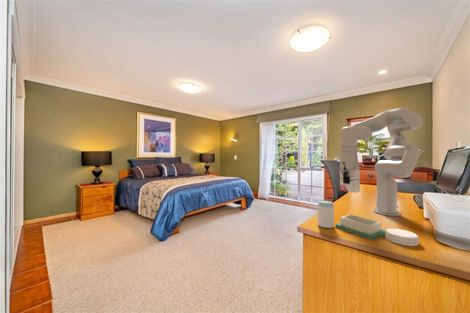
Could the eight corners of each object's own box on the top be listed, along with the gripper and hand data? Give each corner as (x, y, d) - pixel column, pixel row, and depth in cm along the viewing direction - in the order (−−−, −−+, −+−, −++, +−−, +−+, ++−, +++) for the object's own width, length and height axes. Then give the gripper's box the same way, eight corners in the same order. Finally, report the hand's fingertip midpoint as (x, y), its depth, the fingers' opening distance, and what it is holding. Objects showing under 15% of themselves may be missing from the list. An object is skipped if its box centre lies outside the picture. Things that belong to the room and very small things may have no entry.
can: (334, 225, 94) (334, 201, 94) (333, 230, 88) (333, 204, 88) (319, 222, 98) (319, 199, 98) (316, 227, 92) (316, 202, 92)
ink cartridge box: (339, 190, 107) (338, 164, 106) (344, 189, 109) (343, 163, 109) (356, 192, 99) (355, 164, 99) (360, 191, 102) (360, 164, 102)
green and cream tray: (349, 222, 98) (349, 213, 98) (386, 234, 84) (386, 222, 84) (335, 227, 92) (335, 216, 92) (372, 240, 78) (372, 227, 78)
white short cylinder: (425, 247, 72) (425, 238, 72) (396, 246, 73) (396, 237, 73) (405, 236, 82) (405, 228, 82) (380, 235, 83) (380, 227, 83)
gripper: (351, 149, 112) (351, 180, 112) (332, 150, 103) (333, 183, 103) (365, 149, 105) (365, 182, 105) (346, 149, 97) (347, 185, 97)
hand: (349, 182), depth 104 cm, fingers closed on ink cartridge box, 5 cm apart
